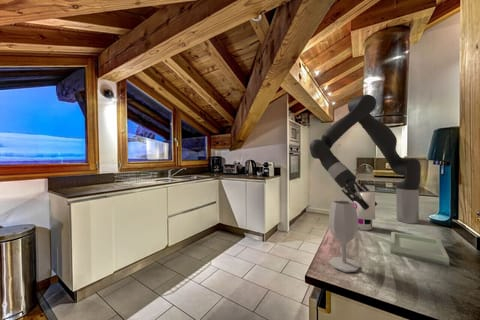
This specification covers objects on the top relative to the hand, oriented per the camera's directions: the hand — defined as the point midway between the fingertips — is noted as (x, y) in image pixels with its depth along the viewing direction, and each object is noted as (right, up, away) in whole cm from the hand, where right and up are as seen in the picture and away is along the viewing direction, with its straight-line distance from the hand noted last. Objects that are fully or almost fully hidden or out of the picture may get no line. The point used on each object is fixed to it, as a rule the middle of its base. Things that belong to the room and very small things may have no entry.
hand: (371, 207), depth 79 cm
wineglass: (-17, -17, -12) cm, 27 cm away
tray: (+15, -15, -3) cm, 22 cm away
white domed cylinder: (-1, -4, +2) cm, 5 cm away
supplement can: (+9, -15, +21) cm, 27 cm away
